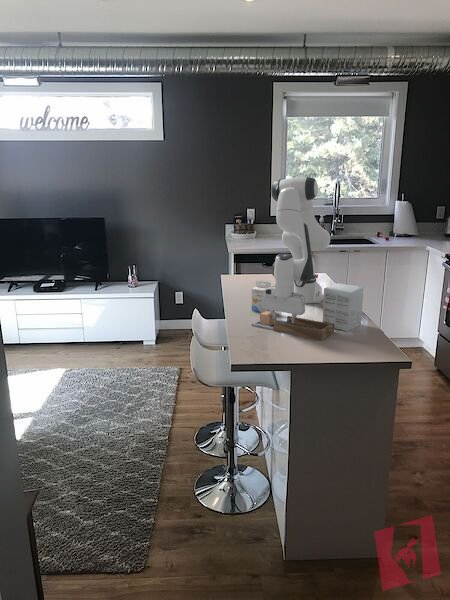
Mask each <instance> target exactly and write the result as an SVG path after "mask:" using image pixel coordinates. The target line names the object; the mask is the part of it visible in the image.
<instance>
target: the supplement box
mask: <svg viewBox="0 0 450 600" xmlns="http://www.w3.org/2000/svg"><path fill="white" fill-rule="evenodd" d="M323 294H324V299H323V301H322V303H323V305H322V322H325V323H330V324H335V325H334V329H337V330H342V331H347V332H349V331H351V330H352V329H355V328H356V327H358V326H359V325H361V324H362V317H363V316H362V315H363V300H364V298H363V297H364V286H360V285H351V284H344V283H339V282H337V283H334V284H331V285H329V286H327V287H324V288H323Z"/></svg>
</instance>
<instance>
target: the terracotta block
mask: <svg viewBox="0 0 450 600" xmlns="http://www.w3.org/2000/svg"><path fill="white" fill-rule="evenodd" d="M259 320H260V323H259V324H260V325H265V326H270V327H271V326H272V325H273V326H274V323H275V320H272V315H271V313H270V311H269V312H267V311H265V312H263V313H262V312H259Z"/></svg>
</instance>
